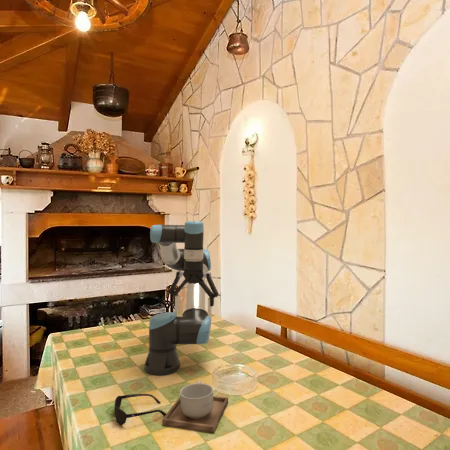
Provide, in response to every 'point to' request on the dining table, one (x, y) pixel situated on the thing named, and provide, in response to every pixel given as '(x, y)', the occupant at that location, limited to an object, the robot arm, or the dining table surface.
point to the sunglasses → (122, 415)
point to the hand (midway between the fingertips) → (193, 313)
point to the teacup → (196, 400)
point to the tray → (204, 424)
